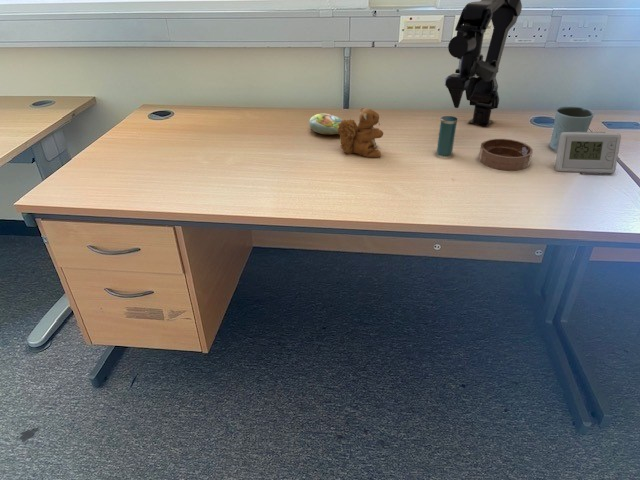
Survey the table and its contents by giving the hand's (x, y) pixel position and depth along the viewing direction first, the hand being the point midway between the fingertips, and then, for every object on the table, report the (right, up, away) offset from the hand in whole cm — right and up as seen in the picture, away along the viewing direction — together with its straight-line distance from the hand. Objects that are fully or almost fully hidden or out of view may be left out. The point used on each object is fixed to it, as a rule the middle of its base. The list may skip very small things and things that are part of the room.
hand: (462, 103), depth 143 cm
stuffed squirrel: (-32, -15, +1) cm, 36 cm away
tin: (-7, -17, -3) cm, 18 cm away
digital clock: (+30, -23, -13) cm, 40 cm away
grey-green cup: (+31, -15, -1) cm, 35 cm away
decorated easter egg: (-42, -5, +16) cm, 46 cm away
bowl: (+10, -20, -8) cm, 23 cm away
